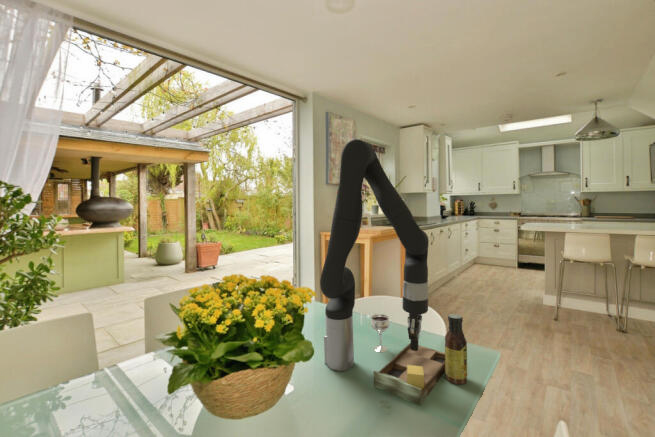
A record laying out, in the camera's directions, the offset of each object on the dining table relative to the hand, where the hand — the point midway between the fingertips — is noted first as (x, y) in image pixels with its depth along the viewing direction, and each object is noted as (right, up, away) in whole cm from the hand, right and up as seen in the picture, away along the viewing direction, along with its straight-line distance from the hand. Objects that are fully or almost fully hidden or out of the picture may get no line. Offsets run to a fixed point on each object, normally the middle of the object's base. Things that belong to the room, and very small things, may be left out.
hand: (414, 349), depth 94 cm
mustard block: (-1, -8, -6) cm, 10 cm away
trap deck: (+1, -9, +4) cm, 10 cm away
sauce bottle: (+13, -9, 0) cm, 16 cm away
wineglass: (-7, -8, +20) cm, 23 cm away
